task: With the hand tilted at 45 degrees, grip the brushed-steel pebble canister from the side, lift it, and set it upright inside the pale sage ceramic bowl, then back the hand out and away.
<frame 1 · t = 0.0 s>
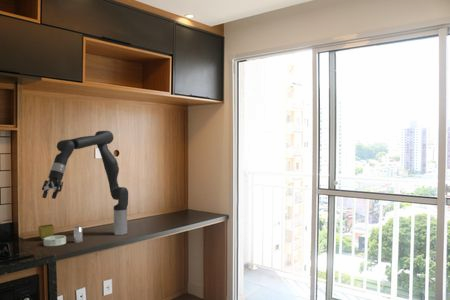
hand: (48, 198, 213), 31 cm above the countertop, tool tilted 20°, fingers open, 8 cm apart
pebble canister: (78, 241, 239), on the countertop
bowl: (55, 243, 234), on the countertop
flower pot: (46, 239, 248), on the countertop
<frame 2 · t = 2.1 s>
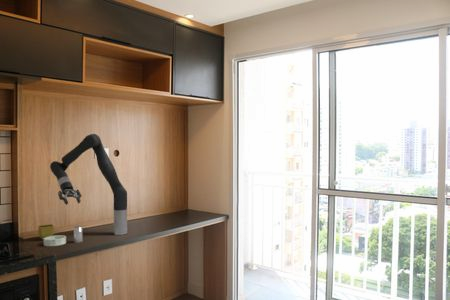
hand: (73, 203, 245), 24 cm above the countertop, tool tilted 45°, fingers open, 8 cm apart
nothing on the countertop moved.
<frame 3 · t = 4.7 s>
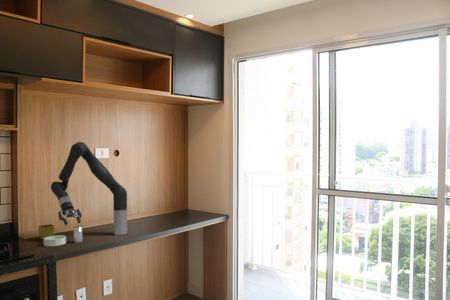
hand: (73, 223, 244), 11 cm above the countertop, tool tilted 45°, fingers open, 8 cm apart
nothing on the countertop moved.
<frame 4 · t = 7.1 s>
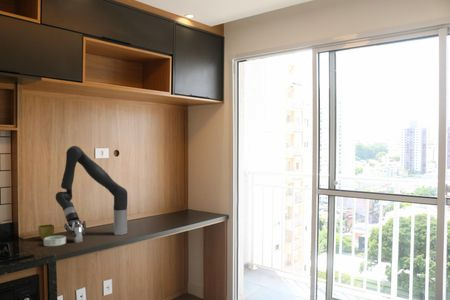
hand: (79, 235, 237), 4 cm above the countertop, tool tilted 45°, fingers closed on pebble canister, 5 cm apart
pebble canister: (78, 241, 239), on the countertop, touching gripper
everything else where it was.
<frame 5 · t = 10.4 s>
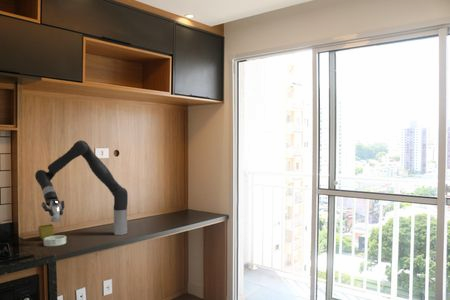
hand: (57, 214, 233), 19 cm above the countertop, tool tilted 45°, fingers closed on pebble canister, 5 cm apart
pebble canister: (55, 221, 234), point 14 cm above the countertop, touching gripper
everything else where it was.
when the fingers open (7 cm above the countertop, at t = 13.6 s): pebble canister drops 1 cm, resting on bowl.
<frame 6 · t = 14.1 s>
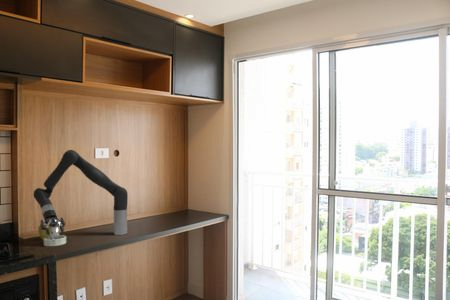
hand: (55, 232, 233), 7 cm above the countertop, tool tilted 45°, fingers open, 8 cm apart
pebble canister: (54, 242, 234), point 1 cm above the countertop, touching bowl
everything else where it was.
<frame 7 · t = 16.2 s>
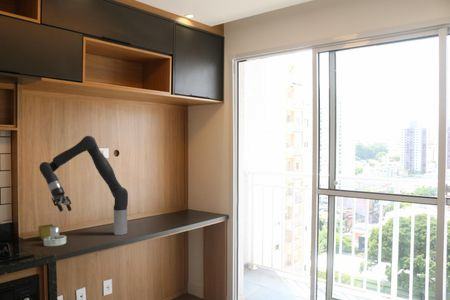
hand: (66, 210, 239), 20 cm above the countertop, tool tilted 30°, fingers open, 8 cm apart
nothing on the countertop moved.
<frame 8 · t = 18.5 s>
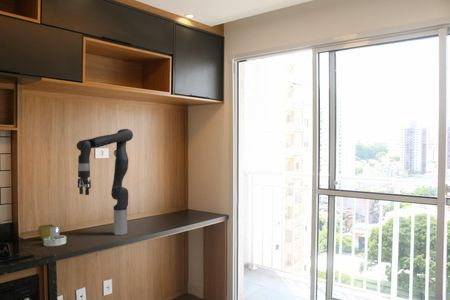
hand: (84, 194, 245), 30 cm above the countertop, tool pointing down, fingers open, 8 cm apart
nothing on the countertop moved.
at the end: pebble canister 0.2 cm off-centre on the bowl, point 1.0 cm above the bowl's base; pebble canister tilted 0°; the gripper is holding nothing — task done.
